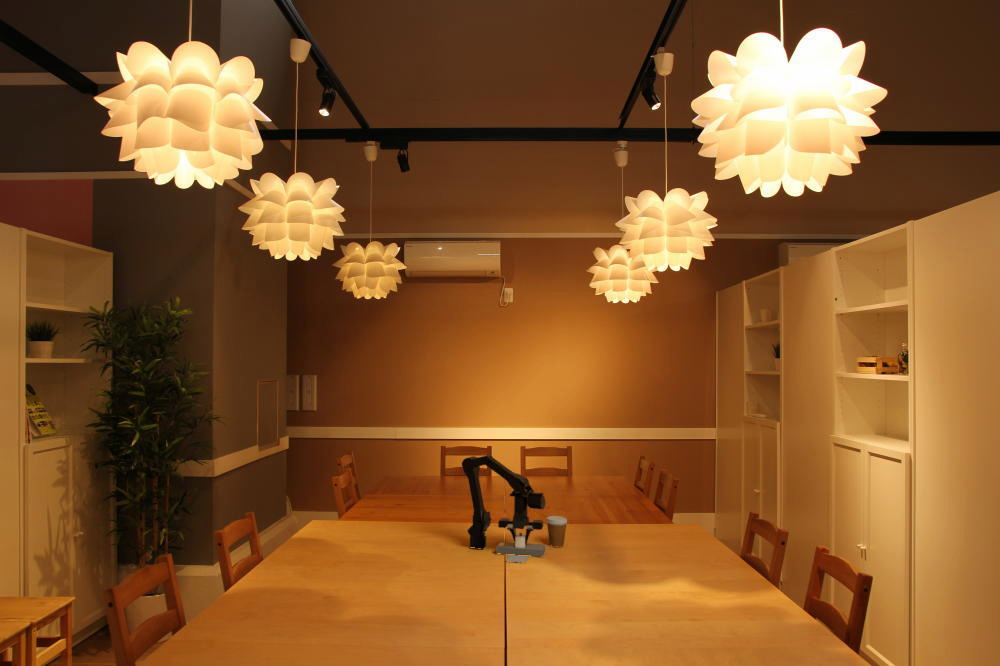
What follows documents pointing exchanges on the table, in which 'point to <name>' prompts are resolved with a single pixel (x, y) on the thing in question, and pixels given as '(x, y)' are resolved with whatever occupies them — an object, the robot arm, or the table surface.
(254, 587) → the table surface
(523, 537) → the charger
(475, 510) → the robot arm
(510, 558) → the grey square plate
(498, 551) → the grey flat block
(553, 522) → the disposable coffee cup
